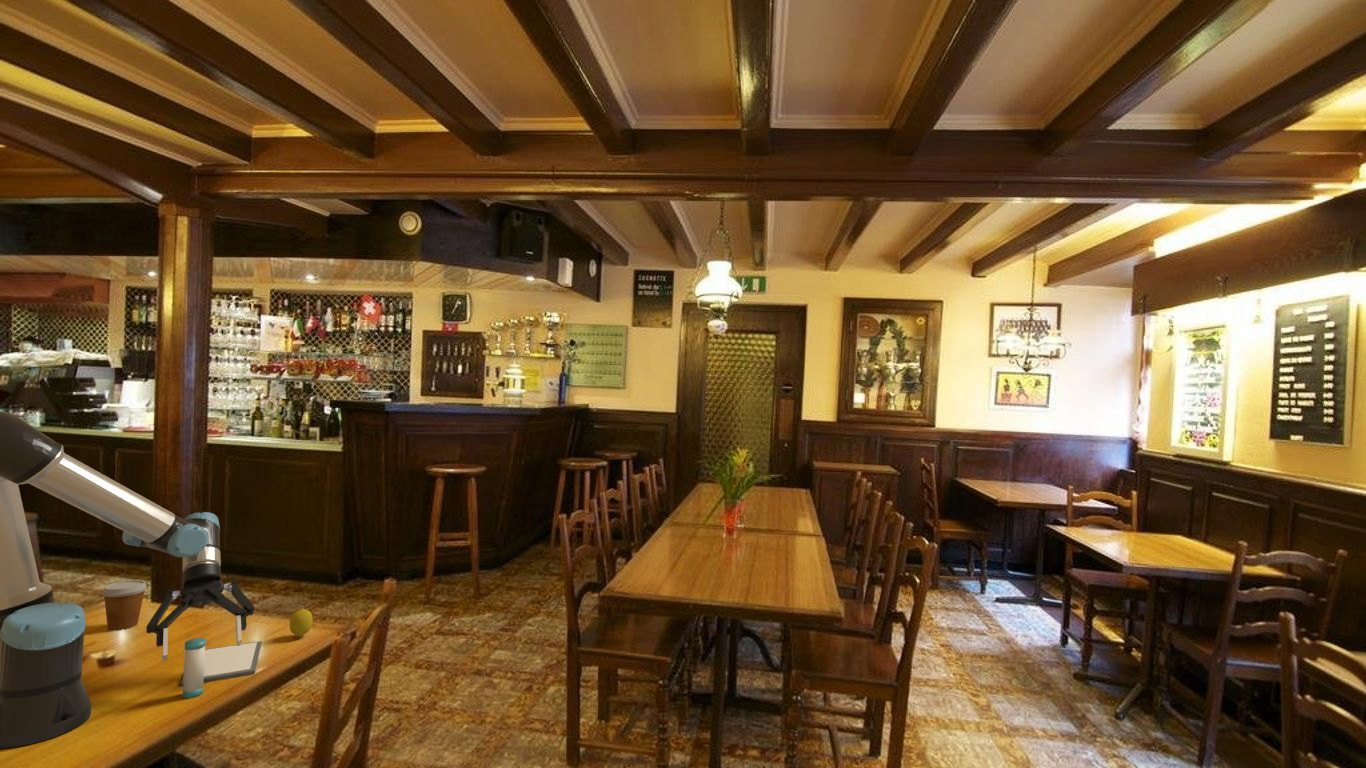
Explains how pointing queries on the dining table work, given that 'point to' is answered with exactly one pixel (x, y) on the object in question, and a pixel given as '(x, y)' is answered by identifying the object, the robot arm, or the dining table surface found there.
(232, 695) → the dining table surface
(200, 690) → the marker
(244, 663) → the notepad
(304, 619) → the lemon
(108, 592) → the disposable coffee cup
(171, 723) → the dining table surface
